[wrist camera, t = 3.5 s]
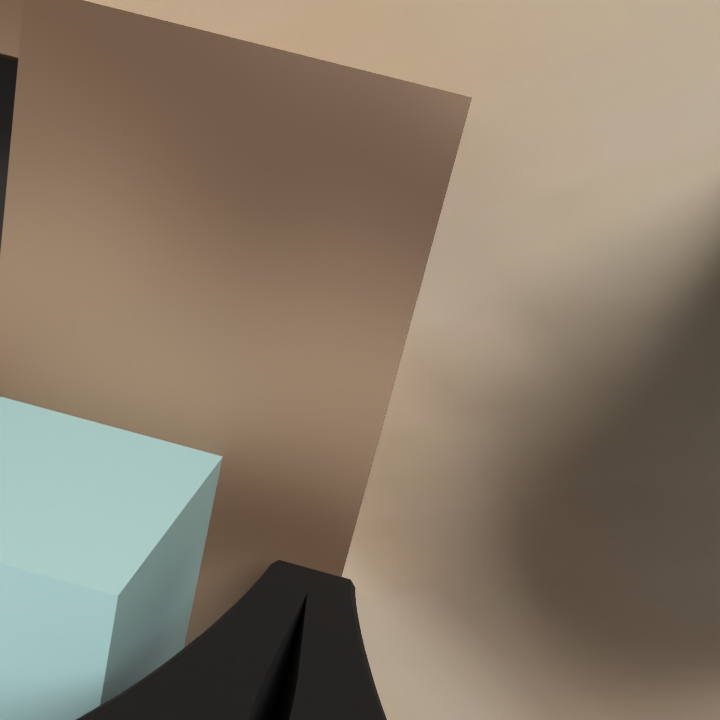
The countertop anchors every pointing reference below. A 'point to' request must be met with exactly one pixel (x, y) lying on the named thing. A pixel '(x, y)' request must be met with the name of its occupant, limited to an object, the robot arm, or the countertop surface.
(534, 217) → the countertop surface
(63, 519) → the block
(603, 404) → the countertop surface
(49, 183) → the tray
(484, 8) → the countertop surface
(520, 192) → the countertop surface
